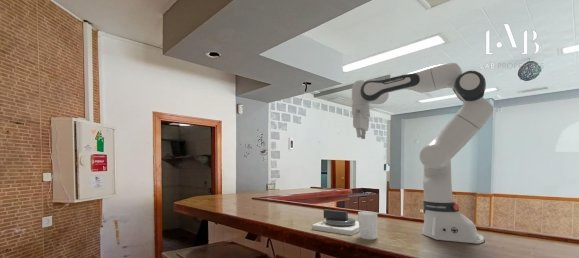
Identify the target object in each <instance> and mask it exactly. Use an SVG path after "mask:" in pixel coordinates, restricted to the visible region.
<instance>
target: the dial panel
mask: <svg viewBox="0 0 579 258" xmlns="http://www.w3.org/2000/svg"><path fill="white" fill-rule="evenodd" d="M311 230H313V231H314V230H315V231H320V232H327V233H328V232H329V233H333V234H338V235H347V236H353V235H356V234H357V233H360V230H359V220H355V225H352V226H332V225H328V224H326V219H324V220H322V221H319V222H316V223H313V224H311Z"/></svg>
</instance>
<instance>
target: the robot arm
mask: <svg viewBox="0 0 579 258" xmlns="http://www.w3.org/2000/svg"><path fill="white" fill-rule="evenodd" d="M486 82H487V81H486V78H485V76H484V75H483V74H482V73H481V72H479V71H476V70H466V71H462V67H460V65H459V64H458V63H456V62H446V63H445V62H444V63H442V64H437V65H433V66H429V67H425V68H422V69H419V70H416V71H413V72H409V73H406V74H401V75H396V76H393V77H388V78H385V79H379V80H378V79H367V80H366V79H360V80H356V81H355V82H354V83H353V84H352V86H351V87H352V88H351V101H352V103H351V115H352V127H353V128H355V131H356V137H357V138H361V139H362V140H365V139H366V134H367V133H366V132H367V131H369V126H370V117H371V112H370V105H382V104H384V103H386V102H387V100H388V99H389V96H390V95H389V93H392V92H396V91H402V90H408V91H409V90H410V91H414V92H417V93H421V94H422V93H431V92H435V91H439V90H442V89H447V88H448V89H449V88H450V89H451V90H452V91H453V93H455V96H456V97H457V98H458V99H459V101H461V102H463V103H462V106H461V107H460V108H459V109H458V111H456V113H455V114H454V115H453V116H452V117H451V118H450V119H449V121H448V122H447V123H446V124H445V125H444V126H443V127H442V128H441V129H440V130H439V131H438V132H437V133H436V134H435V135H434V136H433V137H432V138H431V139H430V140H429V141H428V142H427V143H426V144H425V145H424V146H423V147H422V148H421V150H420V152H419V161H420V162H421V164H422V165H423V180H422V184H423V185H422V186H423V187H422V188H423V202H422V207H423V209H422V210H423V214H424V215H423V216H424V219H423V229H422V232H421V234H422V235H424V236H426V237H429V238H432V239H434V240H437V241H438V240H439V241H446V242H447V241H448V242H459V243H467V244H468V243H469V244H482V243H484V242H485V238H484V235H483V234H479V233H478V232H477V231H478V230H477V226H476V225H475V223H474V221H472V220H471V219H469V217H467V216H466V215H464V214H463V213H461V212H460V206H459V203H456V202H454V200H453V197H454V196H453V190H452V189H453V188H452V159H453V158H454V157H455V156H456V155H457V154H458V153H459V152H460V151H461V149H463V148H464V147H465V146H466V145H467V144H468V143H469V142H470V141H471V139H473V137H474V136H476V134H477V133H478V132H479V131H480V130H481V129H482V128H483V126H484V125H485V124H486V123H487V121H488V120H489V119H490V117H491V116H492V114H493V112H494V106H493V104H491V103H490V101H488V100H487V99H485V98H484V96H485V92H486V88H487V83H486Z"/></svg>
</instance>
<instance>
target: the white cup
mask: <svg viewBox="0 0 579 258" xmlns="http://www.w3.org/2000/svg"><path fill="white" fill-rule="evenodd" d="M357 216H358V219H357V220H358V221H359V230H360V231H359V237H360V239H364V240H376V239H377V238H378V213H377V212H374V211H365V210H363V211H362V210H361V211H358V212H357Z"/></svg>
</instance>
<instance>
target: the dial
mask: <svg viewBox="0 0 579 258" xmlns="http://www.w3.org/2000/svg"><path fill="white" fill-rule="evenodd" d="M348 212H349V211H343V210H335V209H334V210H333V209H326V208H325V209H323V219H325V220H326V224H328V225H332V226H352V225H355V221H356V220H355V219H354V218H351V217H349V213H348Z"/></svg>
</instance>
